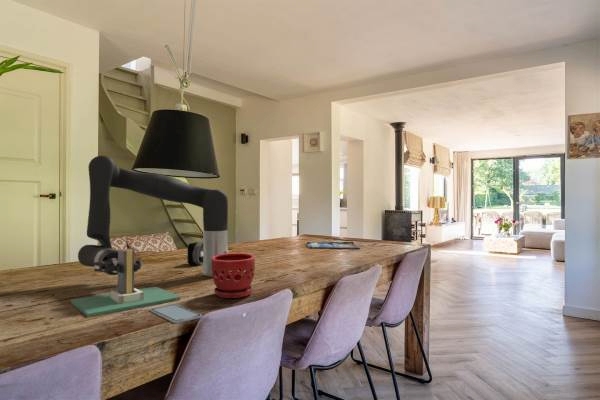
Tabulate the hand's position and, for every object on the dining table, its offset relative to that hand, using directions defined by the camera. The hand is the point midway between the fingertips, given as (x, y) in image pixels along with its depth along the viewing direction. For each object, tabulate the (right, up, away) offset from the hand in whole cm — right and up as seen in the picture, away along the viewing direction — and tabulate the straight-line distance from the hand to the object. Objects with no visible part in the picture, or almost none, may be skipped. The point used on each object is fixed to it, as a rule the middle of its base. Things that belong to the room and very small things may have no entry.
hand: (129, 268), depth 104 cm
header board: (-2, -10, +2) cm, 10 cm away
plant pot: (+27, -10, +9) cm, 31 cm away
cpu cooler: (+1, -10, +64) cm, 65 cm away
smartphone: (+16, -10, -10) cm, 21 cm away
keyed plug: (-2, -7, +2) cm, 8 cm away
